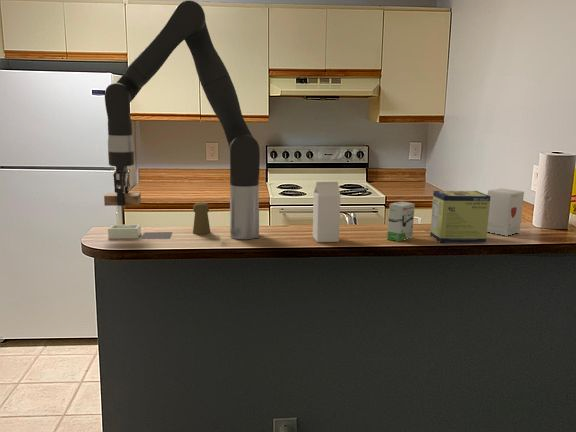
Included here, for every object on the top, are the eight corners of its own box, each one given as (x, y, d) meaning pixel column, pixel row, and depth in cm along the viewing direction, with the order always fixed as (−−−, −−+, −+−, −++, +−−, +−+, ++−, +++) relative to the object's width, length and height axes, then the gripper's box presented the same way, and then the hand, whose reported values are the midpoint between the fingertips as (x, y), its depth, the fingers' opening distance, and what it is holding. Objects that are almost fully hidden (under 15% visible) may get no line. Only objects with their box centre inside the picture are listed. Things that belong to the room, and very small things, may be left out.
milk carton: (339, 242, 167) (341, 183, 163) (317, 242, 166) (318, 183, 162) (333, 236, 174) (335, 180, 170) (312, 237, 173) (313, 180, 169)
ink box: (399, 242, 168) (401, 205, 166) (386, 239, 172) (388, 203, 169) (413, 237, 175) (415, 202, 172) (400, 235, 178) (402, 200, 175)
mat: (172, 234, 173) (172, 232, 173) (170, 241, 164) (170, 238, 164) (144, 235, 172) (144, 232, 172) (140, 242, 163) (140, 239, 163)
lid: (140, 202, 168) (140, 192, 168) (137, 205, 162) (137, 195, 162) (108, 202, 167) (108, 192, 166) (104, 205, 161) (104, 195, 160)
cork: (188, 235, 173) (188, 202, 171) (203, 232, 177) (203, 200, 175) (199, 238, 169) (198, 205, 166) (214, 235, 173) (214, 203, 171)
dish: (141, 236, 170) (140, 224, 170) (138, 241, 165) (137, 228, 164) (112, 236, 169) (111, 224, 168) (108, 241, 163) (107, 229, 163)
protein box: (487, 243, 169) (491, 195, 166) (439, 243, 168) (443, 195, 165) (473, 235, 179) (477, 190, 176) (429, 235, 178) (432, 190, 175)
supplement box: (507, 237, 177) (511, 193, 174) (482, 232, 184) (486, 190, 181) (520, 233, 183) (525, 191, 180) (496, 228, 190) (500, 187, 187)
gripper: (129, 152, 155) (131, 208, 158) (137, 148, 169) (139, 199, 172) (103, 151, 154) (105, 208, 157) (113, 148, 168) (115, 199, 171)
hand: (123, 203), depth 165 cm, fingers closed on lid, 6 cm apart
